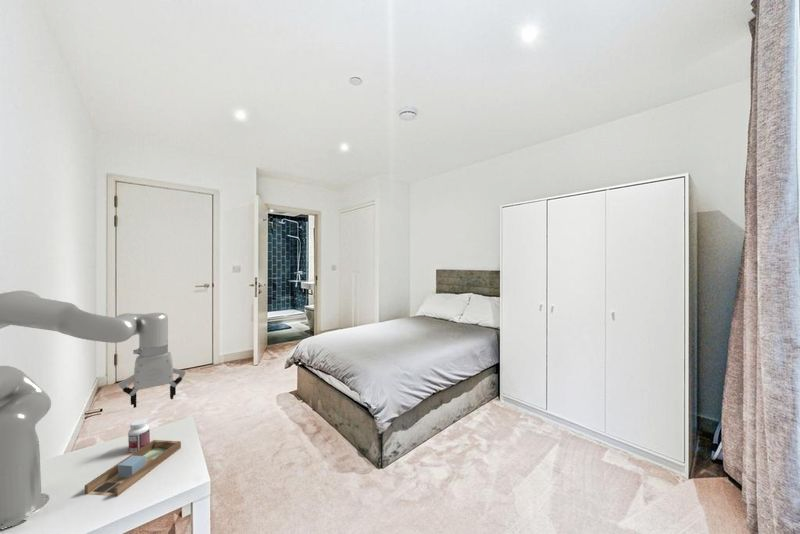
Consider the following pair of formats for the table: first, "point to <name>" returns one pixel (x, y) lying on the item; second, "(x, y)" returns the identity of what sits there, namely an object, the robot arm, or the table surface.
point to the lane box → (117, 485)
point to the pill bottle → (138, 435)
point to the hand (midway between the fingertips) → (153, 401)
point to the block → (131, 466)
